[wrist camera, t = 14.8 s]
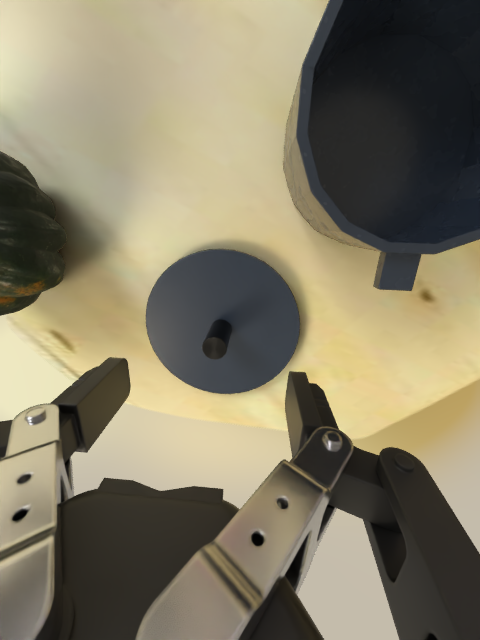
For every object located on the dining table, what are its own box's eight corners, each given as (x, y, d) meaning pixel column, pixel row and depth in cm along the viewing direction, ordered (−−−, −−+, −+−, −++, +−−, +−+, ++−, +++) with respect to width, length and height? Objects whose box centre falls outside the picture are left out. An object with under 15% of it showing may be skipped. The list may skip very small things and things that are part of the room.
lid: (156, 384, 34) (135, 416, 28) (142, 245, 28) (111, 250, 22) (290, 392, 33) (297, 428, 27) (306, 251, 27) (320, 258, 21)
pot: (275, 267, 28) (282, 287, 19) (296, -17, 20) (326, -212, 11) (435, 273, 27) (523, 297, 18) (521, -23, 19) (751, -239, 10)
